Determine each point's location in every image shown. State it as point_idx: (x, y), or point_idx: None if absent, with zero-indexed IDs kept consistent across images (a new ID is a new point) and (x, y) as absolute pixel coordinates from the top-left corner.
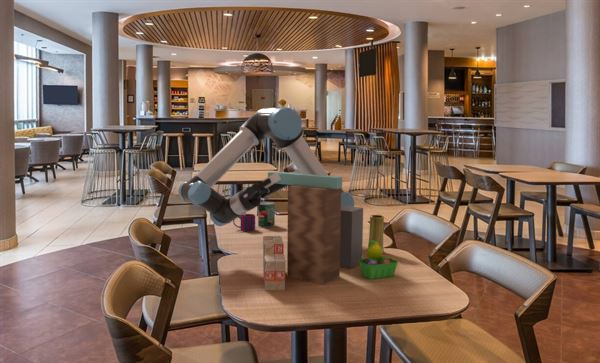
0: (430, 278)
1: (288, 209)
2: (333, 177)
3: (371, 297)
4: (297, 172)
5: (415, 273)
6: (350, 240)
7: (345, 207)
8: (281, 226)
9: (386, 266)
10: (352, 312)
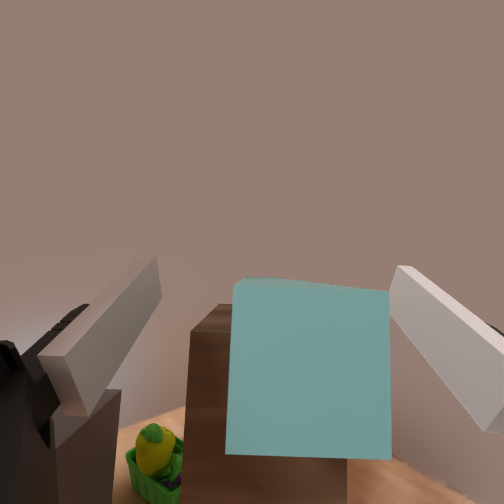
0: (160, 424)
1: (345, 460)
2: (273, 277)
3: None
4: (149, 282)
5: (135, 443)
6: (110, 489)
7: None
8: None
9: (179, 448)
10: (364, 460)
